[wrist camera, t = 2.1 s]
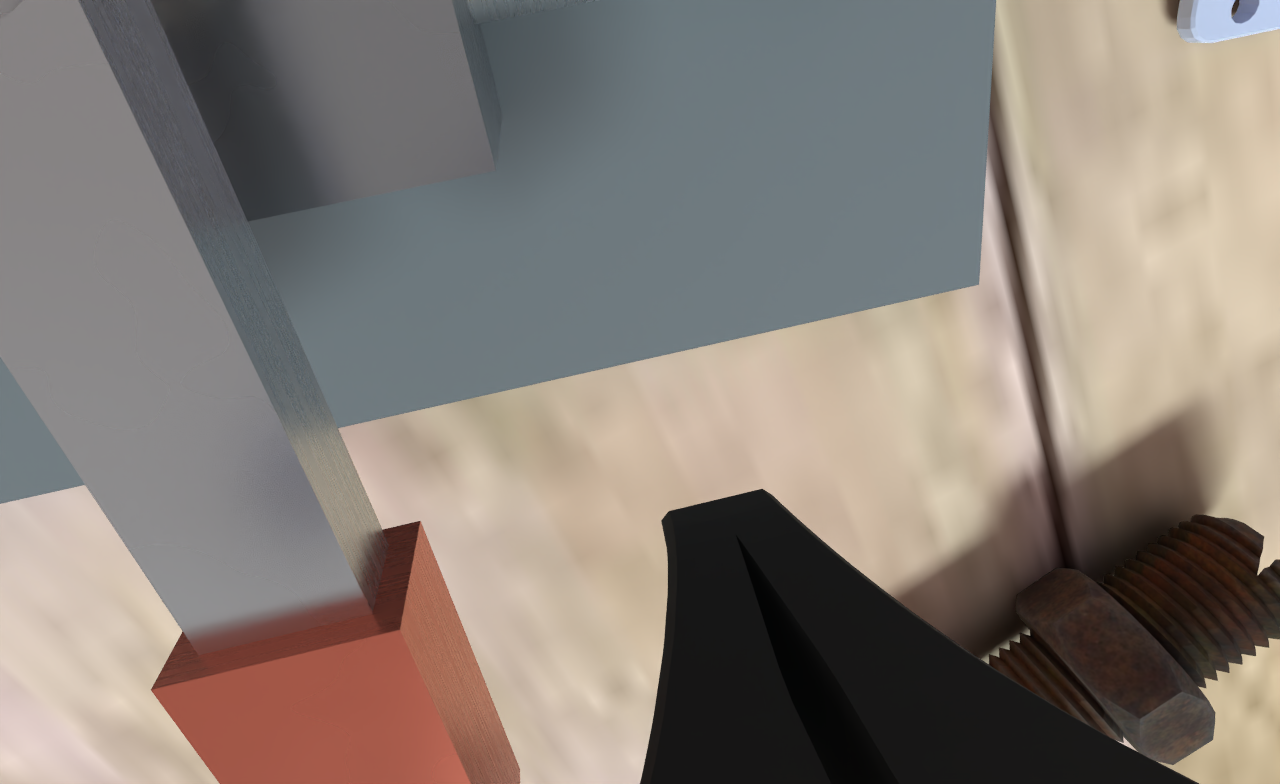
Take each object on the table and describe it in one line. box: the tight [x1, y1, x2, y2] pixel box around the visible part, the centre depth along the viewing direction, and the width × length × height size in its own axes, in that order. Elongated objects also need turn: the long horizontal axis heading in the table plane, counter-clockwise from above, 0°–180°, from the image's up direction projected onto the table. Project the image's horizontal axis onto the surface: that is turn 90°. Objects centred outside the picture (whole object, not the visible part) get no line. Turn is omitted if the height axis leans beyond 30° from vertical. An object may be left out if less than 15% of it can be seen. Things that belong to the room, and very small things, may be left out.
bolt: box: [988, 515, 1280, 765], centre depth 19 cm, size 6×5×15 cm
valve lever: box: [0, 0, 520, 784], centre depth 6 cm, size 12×2×2 cm, turn 10°
